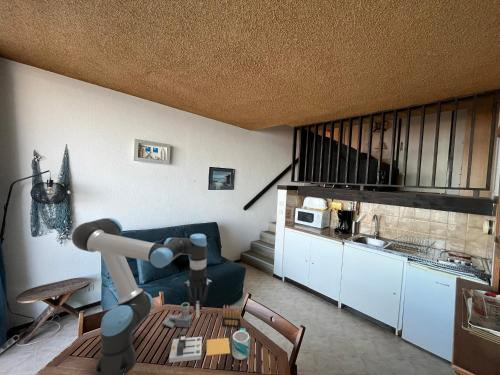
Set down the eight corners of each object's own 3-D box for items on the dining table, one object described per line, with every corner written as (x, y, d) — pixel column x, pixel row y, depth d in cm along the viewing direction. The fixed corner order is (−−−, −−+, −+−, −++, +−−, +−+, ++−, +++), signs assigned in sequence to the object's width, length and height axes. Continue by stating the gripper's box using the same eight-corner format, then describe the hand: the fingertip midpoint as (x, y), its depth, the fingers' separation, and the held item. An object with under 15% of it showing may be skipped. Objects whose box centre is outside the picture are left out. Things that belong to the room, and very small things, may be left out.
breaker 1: (179, 342, 109) (179, 334, 109) (179, 339, 112) (179, 331, 111) (184, 342, 110) (184, 334, 109) (185, 338, 112) (185, 330, 112)
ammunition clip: (240, 325, 127) (241, 304, 127) (240, 327, 125) (241, 306, 125) (222, 324, 128) (222, 303, 127) (221, 326, 126) (222, 305, 125)
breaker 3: (176, 355, 101) (176, 347, 101) (177, 351, 104) (177, 342, 104) (182, 355, 102) (182, 346, 101) (183, 350, 104) (183, 342, 104)
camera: (187, 309, 121) (161, 306, 123) (187, 330, 121) (161, 327, 123) (194, 300, 129) (169, 298, 131) (193, 320, 130) (169, 318, 132)
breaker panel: (168, 362, 100) (169, 357, 100) (173, 343, 112) (173, 338, 112) (200, 359, 103) (201, 354, 102) (201, 340, 114) (201, 336, 114)
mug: (230, 358, 104) (231, 340, 103) (234, 339, 116) (235, 324, 115) (248, 360, 103) (248, 342, 103) (250, 341, 115) (251, 325, 115)
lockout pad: (206, 356, 104) (206, 355, 104) (206, 340, 114) (206, 339, 114) (230, 353, 106) (230, 352, 106) (228, 338, 116) (228, 337, 116)
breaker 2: (179, 348, 105) (179, 340, 105) (180, 344, 108) (180, 336, 108) (185, 348, 106) (185, 339, 106) (185, 344, 108) (186, 335, 108)
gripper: (182, 271, 101) (182, 322, 102) (212, 269, 103) (211, 319, 104) (184, 264, 108) (184, 312, 109) (212, 263, 111) (211, 310, 112)
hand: (197, 316), depth 107 cm, fingers closed
